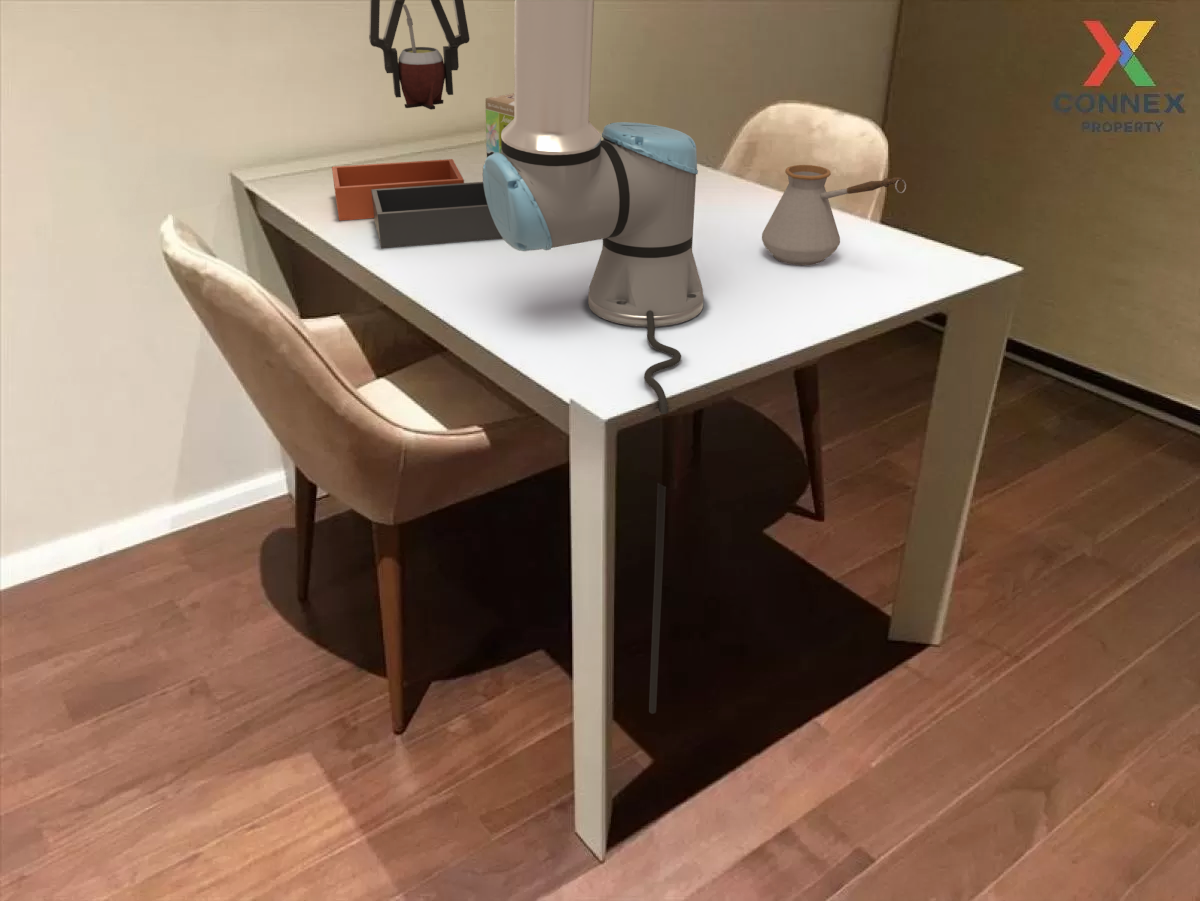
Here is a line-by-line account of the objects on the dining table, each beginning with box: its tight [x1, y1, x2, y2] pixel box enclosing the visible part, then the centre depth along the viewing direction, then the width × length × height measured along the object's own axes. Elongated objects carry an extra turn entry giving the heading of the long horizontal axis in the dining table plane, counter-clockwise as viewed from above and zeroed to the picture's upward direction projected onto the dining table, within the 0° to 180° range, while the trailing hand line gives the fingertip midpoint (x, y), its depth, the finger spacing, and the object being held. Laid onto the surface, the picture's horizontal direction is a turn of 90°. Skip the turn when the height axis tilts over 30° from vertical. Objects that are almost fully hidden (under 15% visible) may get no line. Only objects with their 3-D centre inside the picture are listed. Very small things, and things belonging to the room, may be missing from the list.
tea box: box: [485, 92, 514, 158], centre depth 186 cm, size 15×10×15 cm
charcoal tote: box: [371, 181, 504, 249], centre depth 164 cm, size 13×21×5 cm, turn 105°
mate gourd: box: [398, 3, 446, 111], centre depth 154 cm, size 8×8×15 cm
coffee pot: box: [761, 164, 907, 266], centre depth 148 cm, size 21×12×15 cm, turn 43°
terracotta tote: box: [331, 158, 465, 221], centre depth 175 cm, size 13×21×5 cm, turn 105°
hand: (423, 94), depth 157 cm, fingers closed on mate gourd, 7 cm apart
